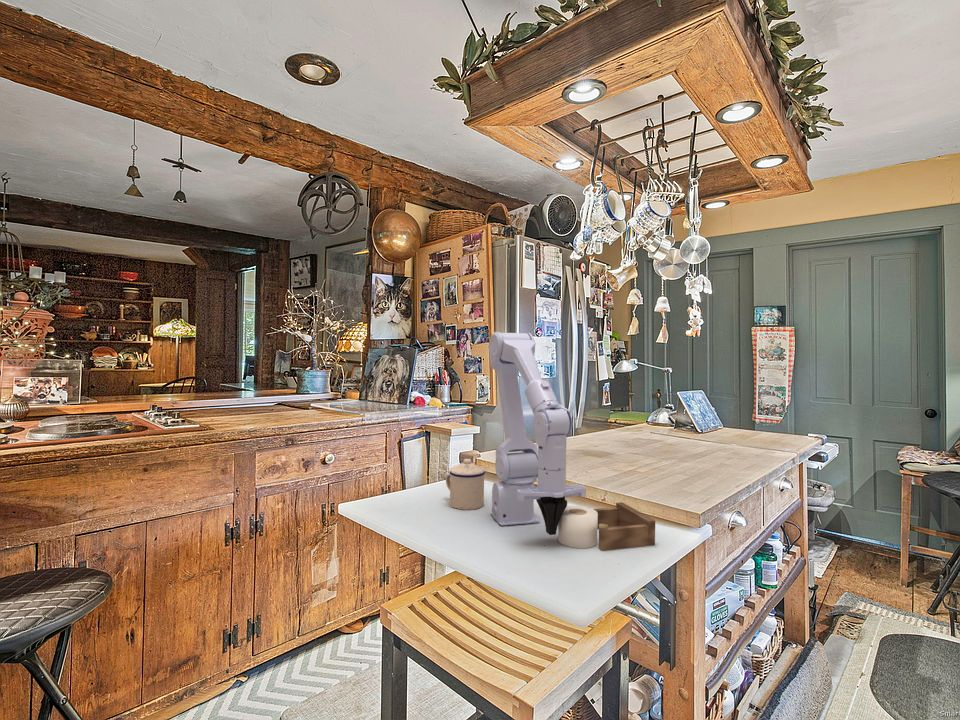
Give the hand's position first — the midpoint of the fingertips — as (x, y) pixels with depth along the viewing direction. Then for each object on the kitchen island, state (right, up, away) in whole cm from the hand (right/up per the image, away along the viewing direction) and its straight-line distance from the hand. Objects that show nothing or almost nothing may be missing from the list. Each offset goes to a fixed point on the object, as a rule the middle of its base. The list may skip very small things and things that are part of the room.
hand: (551, 533), depth 100 cm
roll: (+6, -2, +1) cm, 6 cm away
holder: (+13, -2, +3) cm, 13 cm away
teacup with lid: (-19, -2, +25) cm, 31 cm away
